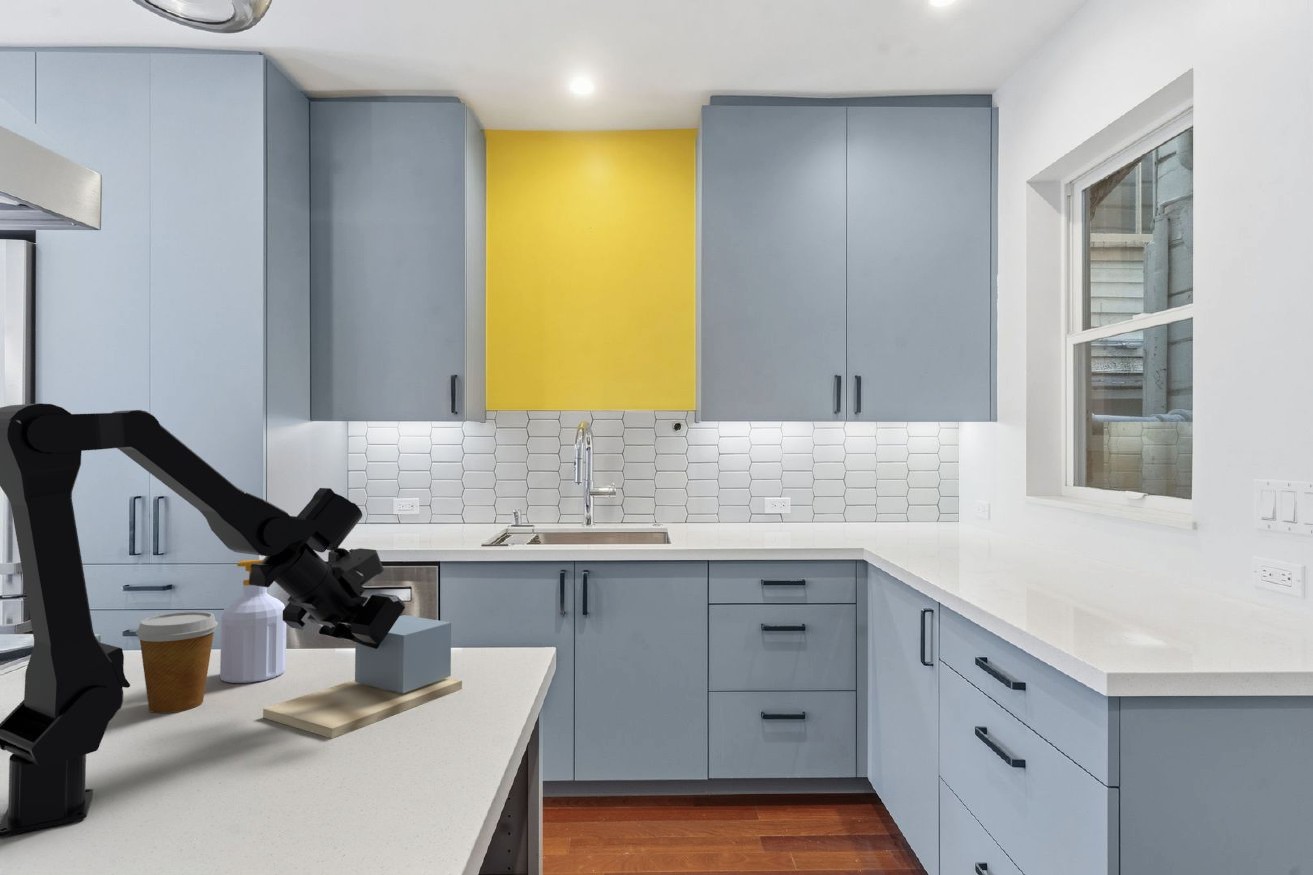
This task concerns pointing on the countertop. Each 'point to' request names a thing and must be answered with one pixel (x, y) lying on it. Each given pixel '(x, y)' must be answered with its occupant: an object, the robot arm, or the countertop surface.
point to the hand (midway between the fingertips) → (377, 645)
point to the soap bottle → (252, 635)
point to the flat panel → (352, 706)
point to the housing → (407, 656)
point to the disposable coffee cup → (176, 659)
